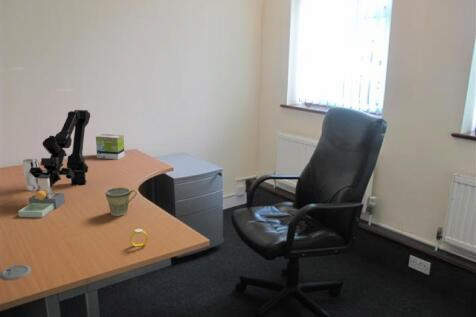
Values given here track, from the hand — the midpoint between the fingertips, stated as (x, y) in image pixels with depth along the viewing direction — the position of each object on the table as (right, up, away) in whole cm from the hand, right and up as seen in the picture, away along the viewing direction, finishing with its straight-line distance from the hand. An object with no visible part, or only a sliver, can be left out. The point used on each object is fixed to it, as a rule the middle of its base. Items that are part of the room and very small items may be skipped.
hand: (46, 189), depth 189 cm
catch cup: (-1, -9, -8) cm, 12 cm away
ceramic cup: (+36, -10, -7) cm, 38 cm away
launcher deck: (0, -7, 0) cm, 7 cm away
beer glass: (-17, -2, +23) cm, 29 cm away
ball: (0, -2, -5) cm, 5 cm away
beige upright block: (0, -3, -1) cm, 3 cm away
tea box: (+2, +14, +89) cm, 90 cm away
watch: (+50, -17, -38) cm, 65 cm away
